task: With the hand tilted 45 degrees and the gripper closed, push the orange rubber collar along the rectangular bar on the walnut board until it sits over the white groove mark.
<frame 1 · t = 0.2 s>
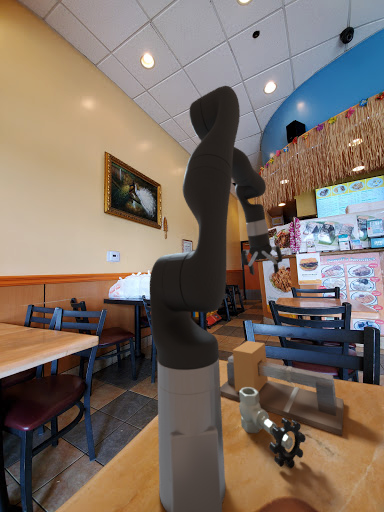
hand: (264, 273, 81), 31 cm above the table, tool tilted 20°, fingers open, 8 cm apart
valve: (265, 442, 37), on the table
collar: (250, 365, 54), point 6 cm above the table, slide at 0.0 cm
board: (276, 398, 50), on the table
rectangular bar: (275, 379, 51), on the board, point 4 cm above the table
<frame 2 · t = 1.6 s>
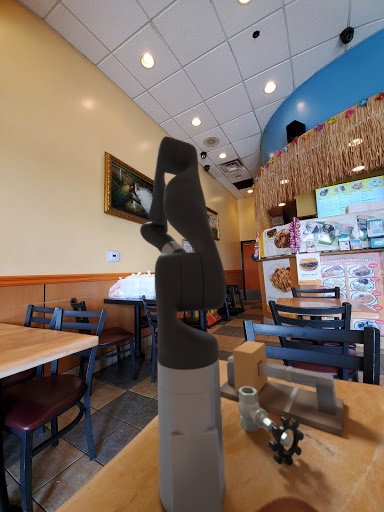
hand: (204, 288, 66), 27 cm above the table, tool tilted 45°, fingers open, 7 cm apart
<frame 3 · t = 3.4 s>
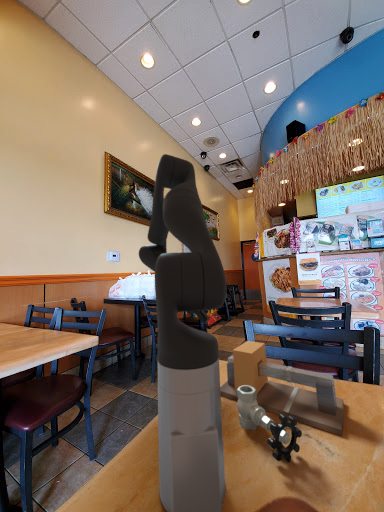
hand: (207, 321, 63), 17 cm above the table, tool tilted 45°, fingers closed
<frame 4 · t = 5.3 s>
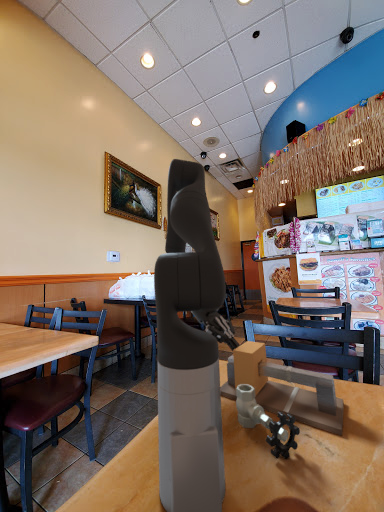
hand: (239, 351, 56), 9 cm above the table, tool tilted 45°, fingers closed
collar: (251, 365, 54), point 6 cm above the table, slide at 0.1 cm, touching gripper
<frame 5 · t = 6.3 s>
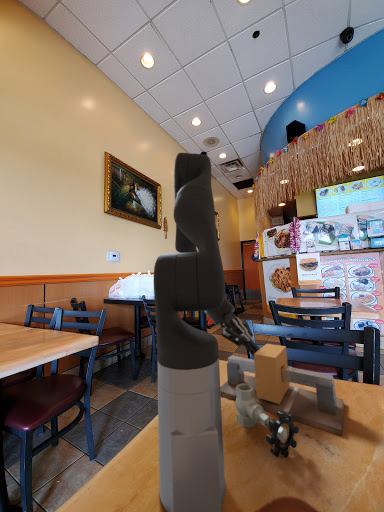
hand: (258, 355, 53), 9 cm above the table, tool tilted 45°, fingers closed
collar: (272, 370, 51), point 6 cm above the table, slide at 5.5 cm, touching gripper
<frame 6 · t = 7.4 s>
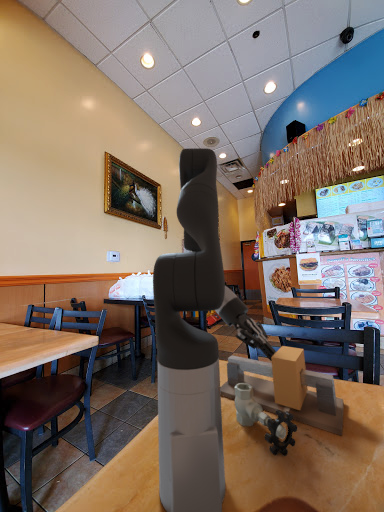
hand: (275, 358, 51), 9 cm above the table, tool tilted 45°, fingers closed
collar: (290, 374, 49), point 6 cm above the table, slide at 9.6 cm, touching gripper
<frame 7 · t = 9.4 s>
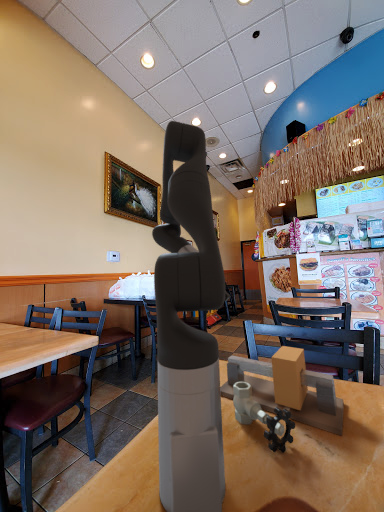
hand: (227, 299, 60), 23 cm above the table, tool tilted 45°, fingers closed
collar: (290, 374, 49), point 6 cm above the table, slide at 9.6 cm
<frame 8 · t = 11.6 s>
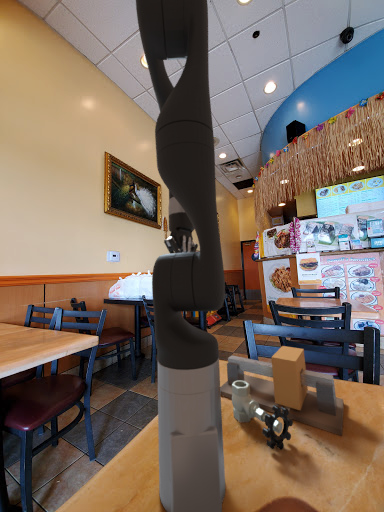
hand: (183, 274, 59), 31 cm above the table, tool pointing down, fingers closed
at the end: collar slide at 9.6 cm; valve moved 3.5 cm from its start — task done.
